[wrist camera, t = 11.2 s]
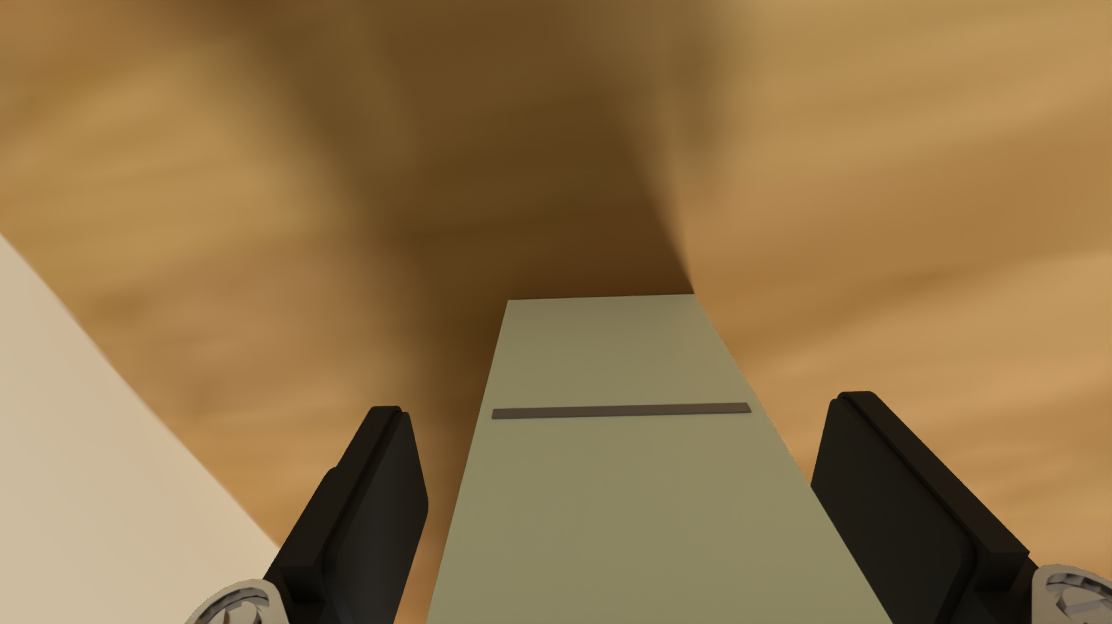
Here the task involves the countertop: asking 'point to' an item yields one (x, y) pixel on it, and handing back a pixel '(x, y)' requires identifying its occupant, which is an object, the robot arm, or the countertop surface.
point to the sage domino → (635, 483)
